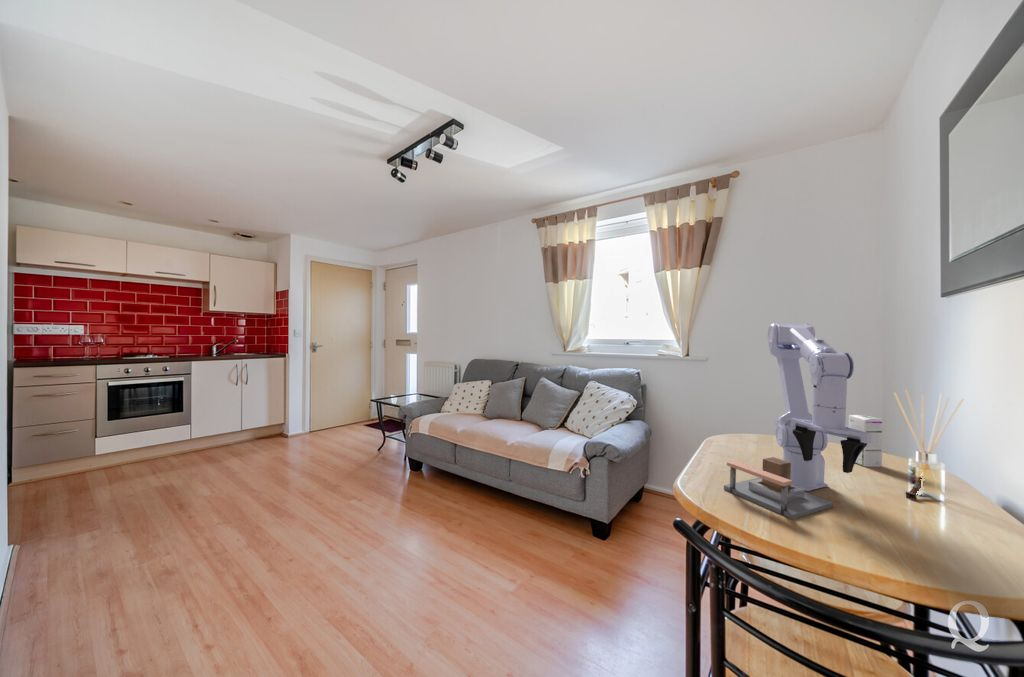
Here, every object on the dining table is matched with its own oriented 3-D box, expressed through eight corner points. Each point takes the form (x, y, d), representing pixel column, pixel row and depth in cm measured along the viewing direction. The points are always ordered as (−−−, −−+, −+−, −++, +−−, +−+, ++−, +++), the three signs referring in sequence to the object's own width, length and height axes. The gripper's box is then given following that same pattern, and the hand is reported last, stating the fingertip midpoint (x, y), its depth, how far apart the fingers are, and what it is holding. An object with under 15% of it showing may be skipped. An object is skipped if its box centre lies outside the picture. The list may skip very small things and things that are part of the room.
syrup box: (882, 467, 111) (884, 419, 111) (862, 467, 111) (864, 418, 111) (865, 460, 117) (866, 414, 117) (846, 460, 117) (847, 414, 117)
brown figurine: (929, 490, 93) (927, 475, 92) (918, 509, 90) (915, 494, 89) (919, 487, 95) (917, 473, 94) (907, 506, 92) (905, 491, 91)
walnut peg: (772, 488, 92) (773, 457, 92) (789, 495, 89) (790, 462, 89) (761, 491, 91) (762, 459, 91) (778, 498, 87) (780, 464, 87)
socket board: (762, 480, 100) (763, 452, 100) (832, 506, 85) (834, 474, 85) (721, 489, 94) (721, 460, 94) (789, 520, 79) (790, 485, 79)
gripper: (783, 401, 89) (781, 457, 89) (859, 414, 75) (857, 480, 76) (801, 399, 92) (799, 454, 92) (878, 411, 78) (875, 475, 79)
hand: (826, 465), depth 84 cm, fingers open, 7 cm apart
